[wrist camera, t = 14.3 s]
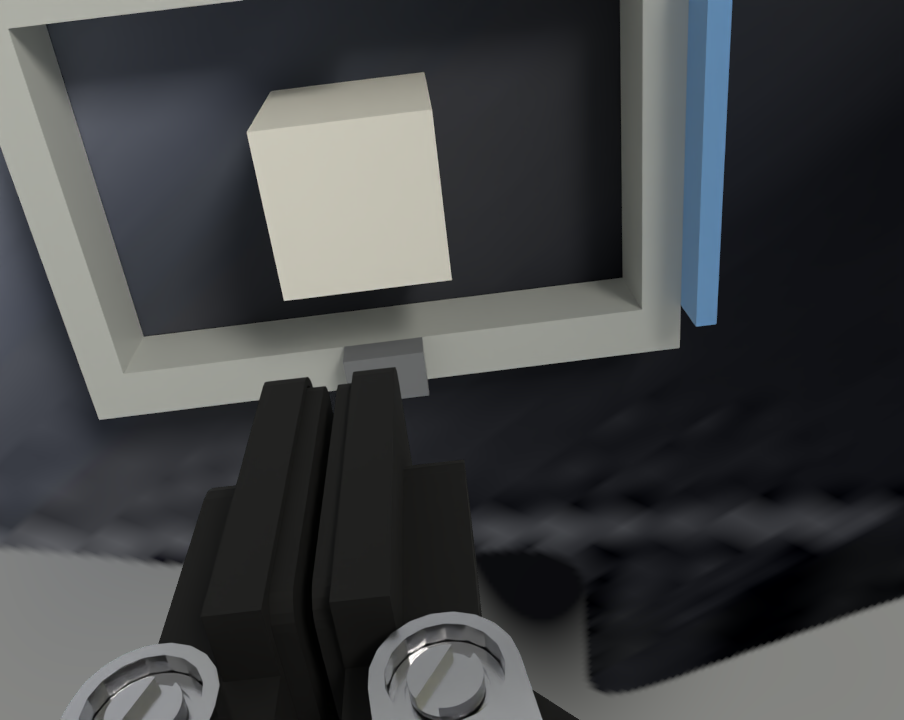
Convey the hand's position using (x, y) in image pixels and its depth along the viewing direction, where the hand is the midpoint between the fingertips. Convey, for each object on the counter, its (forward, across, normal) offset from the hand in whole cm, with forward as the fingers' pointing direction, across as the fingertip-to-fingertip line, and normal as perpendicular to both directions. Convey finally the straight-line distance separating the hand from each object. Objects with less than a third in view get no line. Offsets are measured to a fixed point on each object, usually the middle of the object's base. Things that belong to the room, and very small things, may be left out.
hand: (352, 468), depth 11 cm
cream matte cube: (+17, +1, +1) cm, 17 cm away
